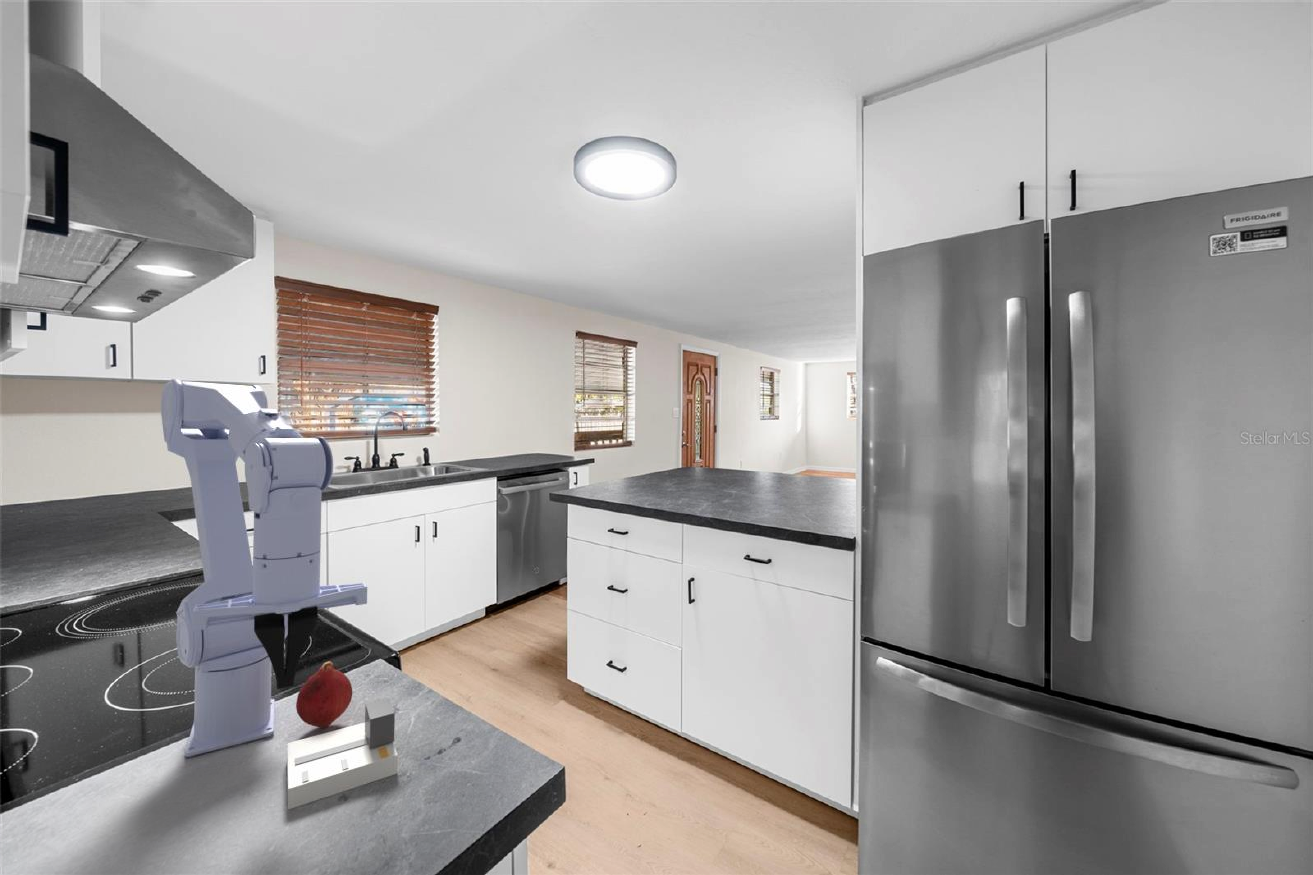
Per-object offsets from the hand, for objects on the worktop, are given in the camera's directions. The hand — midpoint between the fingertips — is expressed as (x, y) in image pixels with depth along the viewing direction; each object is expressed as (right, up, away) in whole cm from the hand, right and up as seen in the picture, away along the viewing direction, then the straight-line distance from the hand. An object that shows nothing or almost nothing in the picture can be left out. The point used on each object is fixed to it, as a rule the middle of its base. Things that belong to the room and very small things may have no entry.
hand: (285, 683), depth 54 cm
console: (+4, -10, +3) cm, 12 cm away
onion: (-2, -11, +10) cm, 15 cm away
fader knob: (+7, -8, +5) cm, 12 cm away
